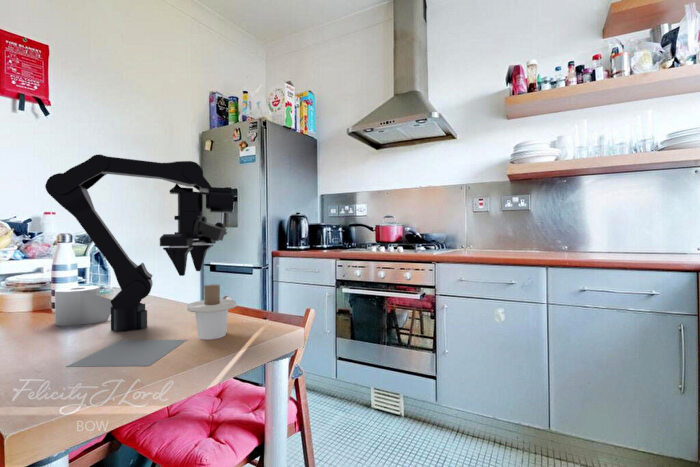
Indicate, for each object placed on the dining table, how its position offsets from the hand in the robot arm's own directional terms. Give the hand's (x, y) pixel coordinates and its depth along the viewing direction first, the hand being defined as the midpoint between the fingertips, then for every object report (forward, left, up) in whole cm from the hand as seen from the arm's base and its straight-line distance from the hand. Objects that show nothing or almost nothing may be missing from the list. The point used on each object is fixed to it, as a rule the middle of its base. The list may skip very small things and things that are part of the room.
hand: (190, 273), depth 87 cm
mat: (-1, -22, -13) cm, 26 cm away
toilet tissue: (-30, +4, -13) cm, 33 cm away
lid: (+10, -12, -6) cm, 17 cm away
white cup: (+10, -12, -13) cm, 20 cm away
